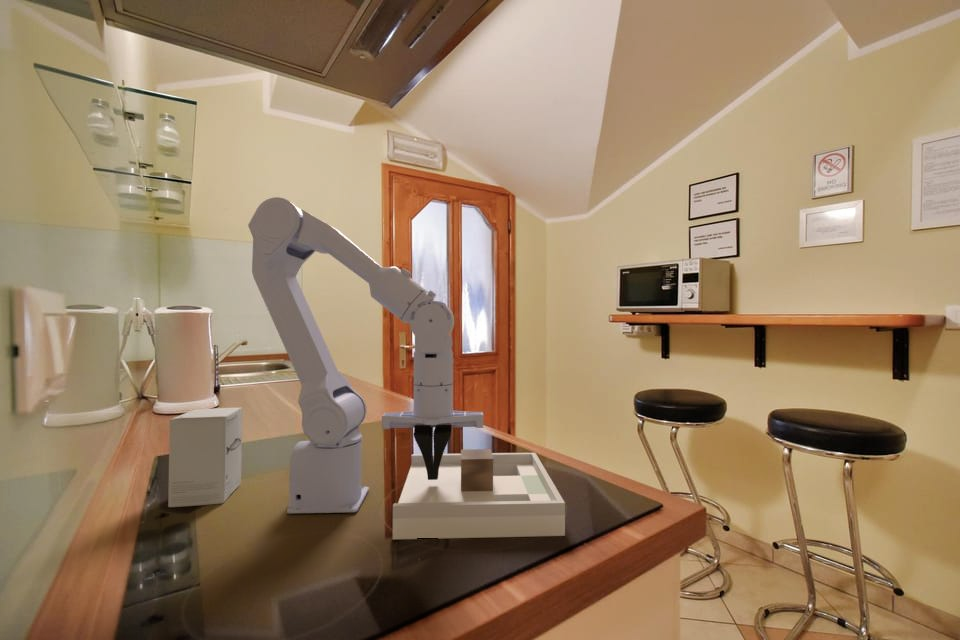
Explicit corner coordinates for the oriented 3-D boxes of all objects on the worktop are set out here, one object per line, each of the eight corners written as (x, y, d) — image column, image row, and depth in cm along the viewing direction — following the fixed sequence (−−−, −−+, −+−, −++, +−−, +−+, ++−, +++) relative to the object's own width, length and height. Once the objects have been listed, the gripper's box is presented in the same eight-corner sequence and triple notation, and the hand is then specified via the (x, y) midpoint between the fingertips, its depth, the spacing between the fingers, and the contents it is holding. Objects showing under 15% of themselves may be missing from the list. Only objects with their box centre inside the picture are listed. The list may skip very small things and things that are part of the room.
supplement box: (224, 504, 59) (225, 416, 59) (166, 508, 58) (167, 418, 58) (242, 484, 67) (243, 406, 67) (191, 488, 65) (192, 408, 65)
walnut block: (461, 491, 58) (461, 459, 58) (461, 479, 62) (461, 449, 62) (493, 490, 58) (493, 458, 58) (490, 479, 63) (490, 449, 63)
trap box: (392, 539, 50) (392, 506, 50) (411, 477, 70) (412, 454, 70) (565, 535, 51) (565, 502, 51) (535, 476, 71) (535, 452, 71)
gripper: (377, 388, 56) (377, 489, 56) (484, 387, 56) (484, 487, 56) (386, 380, 63) (386, 470, 63) (482, 380, 63) (481, 469, 63)
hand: (433, 477), depth 60 cm, fingers closed
